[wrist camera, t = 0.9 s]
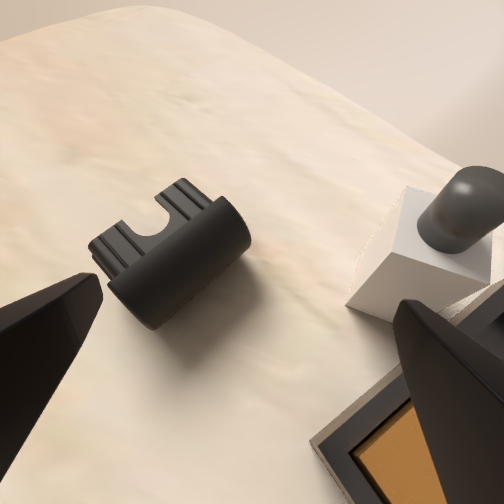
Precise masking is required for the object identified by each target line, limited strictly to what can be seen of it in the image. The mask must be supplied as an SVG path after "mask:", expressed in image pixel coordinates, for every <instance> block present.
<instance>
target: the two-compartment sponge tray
mask: <svg viewBox="0 0 504 504" xmlns="http://www.w3.org/2000/svg"><path fill="white" fill-rule="evenodd" d="M449 322H450V323H451V324H453V325H454V326H455V327H457V328H458V329H460V330H461V331H462V332H464V333H465V334H467V335H468V336H470V337H471V338H472V339H474V340H475V341H477V342H478V343H479V344H481V345H482V346H484V347H485V348H486V349H488V350H489V351H491V352H492V353H494V354H495V355H496V356H498V357H499V358H501V359H502V360H503V361H504V279H503V280H501V281H499V282H497V283H495V284H493V285H491V286H490V287H489V288H488V289H487V290H485V291H484V292H483V293H482V294H481V295H479V296H478V297H477V298H476V299H475V300H474V301H472V302H471V303H470V304H469V305H468V306H467V307H465V308H464V309H463V310H462V311H461V312H460V313H458V314H457V315H456V316H455V317H454V318H453V319H451V320H450V321H449ZM309 442H310V443H311V445H312V446H313V448H314V449H315V451H316V452H317V454H318V455H319V457H320V459H321V460H322V462H323V463H324V465H325V466H326V468H327V469H328V471H329V472H330V474H331V475H332V477H333V479H334V480H335V482H336V483H337V485H338V486H339V488H340V489H341V491H342V492H343V494H344V495H345V497H346V499H347V500H348V502H349V503H350V504H447V502H446V499H445V496H444V493H443V491H442V488H441V485H440V482H439V479H438V476H437V473H436V470H435V467H434V464H433V461H432V458H431V456H430V453H429V450H428V447H427V444H426V441H425V438H424V435H423V432H422V429H421V426H420V423H419V421H418V418H417V415H416V412H415V409H414V406H413V403H412V400H411V397H410V394H409V391H408V388H407V386H406V382H405V379H404V376H403V372H402V368H401V363H400V364H399V365H397V366H396V367H395V368H394V369H393V370H392V371H390V372H389V373H388V374H387V375H386V376H385V377H383V378H382V379H381V380H380V381H379V382H377V383H376V384H375V385H374V386H373V387H372V388H370V389H369V390H368V391H367V392H366V393H365V394H363V395H362V396H361V397H360V398H359V399H358V400H356V401H355V402H354V403H353V404H352V405H351V406H349V407H348V408H347V409H346V410H345V411H343V412H342V413H341V414H340V415H339V416H338V417H336V418H335V419H334V420H333V421H332V422H331V423H329V424H328V425H327V426H326V427H325V428H324V429H322V430H321V431H320V432H319V433H318V434H317V435H315V436H314V437H313V438H312V439H311V440H309Z"/></svg>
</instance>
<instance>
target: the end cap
mask: <svg viewBox="0 0 504 504" xmlns="http://www.w3.org/2000/svg"><path fill="white" fill-rule="evenodd" d="M154 198H155V200H156V201H157V202H158V203H159V204H160V205H161V206H162V207H163V208H164V209H165V210H166V211H168V213H169V215H170V219H169V223H168V225H167V226H166V228H165V229H164V230H162V231H161V232H160V233H158V234H156V235H152V236H141V235H138V234H136V233H135V232H133V231H132V230H131V229H130V228H129V226H128V225H127V224H126V223H125V222H124V221H123V220H120V221H119V222H118V223H116V224H115V225H113V226H112V227H110V228H109V229H108V230H106V231H105V232H103V233H102V234H100V235H99V236H98V237H96V238H95V239H93V240H92V241H91V242H90V243H89V245H88V249H89V250H90V252H91V253H92V258H93V260H94V261H95V262H96V263H97V264H98V266H99V267H100V268H101V269H102V270H103V272H104V273H105V274H106V275H107V276H108V278H109V279H110V280H111V281H110V282H109V283H108V284H107V286H108V288H109V289H110V290H111V291H112V292H113V293H114V295H115V296H116V297H117V298H118V299H119V300H120V301H121V302H122V303H123V305H124V306H125V307H126V308H127V309H128V310H129V311H130V312H131V313H132V314H133V315H134V316H135V317H136V318H137V319H138V320H139V321H140V322H141V323H143V324H144V325H145V326H146V327H147V328H149V329H150V330H156V329H158V328H159V327H160V326H161V325H162V324H163V323H164V322H166V321H167V320H168V319H169V318H170V317H171V316H172V315H173V314H175V313H176V312H177V311H178V310H179V309H180V308H181V307H183V306H184V305H185V304H186V303H187V302H188V301H189V300H190V299H192V298H193V297H194V296H195V295H196V294H197V293H198V292H200V291H201V290H202V289H203V288H204V287H205V286H206V285H207V284H209V283H210V282H211V281H212V280H213V279H214V278H215V277H217V276H218V275H219V274H220V273H221V272H222V271H223V270H224V269H226V268H227V267H228V266H229V265H230V264H231V263H232V262H234V261H235V260H236V259H237V258H238V257H239V256H240V255H241V254H243V253H244V252H245V251H246V250H247V249H248V248H249V247H250V245H251V235H250V232H249V230H248V227H247V225H246V223H245V222H244V220H243V218H242V217H241V215H240V214H239V213H238V211H237V210H236V209H235V208H234V206H233V205H232V204H231V203H230V202H229V201H228V200H227V199H226V198H225V197H223V196H221V197H219V198H218V199H217V200H215V201H214V202H213V201H212V200H210V199H209V198H208V197H207V196H206V195H204V194H203V193H202V192H201V191H200V190H199V189H197V188H196V187H195V186H194V185H193V184H191V183H190V182H189V181H188V180H187V179H185V178H181V179H179V180H178V181H176V182H175V183H173V184H172V185H170V186H169V187H168V188H166V189H165V190H163V191H162V192H160V193H159V194H158V195H156V196H155V197H154Z"/></svg>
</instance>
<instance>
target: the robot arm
mask: <svg viewBox="0 0 504 504" xmlns="http://www.w3.org/2000/svg"><path fill="white" fill-rule="evenodd" d="M102 301H103V293H102V289H101V286H100V282H99V279H98V276H97V275H96V274H94V273H79V274H77V275H74V276H72V277H70V278H68V279H65V280H63V281H61V282H58V283H56V284H54V285H52V286H49V287H47V288H45V289H43V290H40V291H38V292H36V293H33V294H31V295H29V296H27V297H24V298H22V299H20V300H18V301H15V302H13V303H11V304H8V305H6V306H4V307H2V308H0V482H1V481H2V479H3V477H4V476H5V474H6V472H7V471H8V469H9V467H10V466H11V464H12V462H13V461H14V459H15V457H16V456H17V454H18V452H19V451H20V449H21V447H22V446H23V444H24V442H25V441H26V439H27V437H28V436H29V434H30V432H31V431H32V429H33V427H34V426H35V424H36V422H37V421H38V419H39V417H40V415H41V414H42V412H43V410H44V409H45V407H46V405H47V404H48V402H49V400H50V399H51V397H52V395H53V394H54V392H55V390H56V389H57V387H58V385H59V384H60V382H61V380H62V379H63V377H64V375H65V374H66V372H67V370H68V369H69V367H70V365H71V364H72V362H73V360H74V359H75V357H76V355H77V354H78V352H79V350H80V348H81V346H82V344H83V342H84V341H85V339H86V336H87V334H88V332H89V330H90V328H91V326H92V323H93V321H94V319H95V317H96V315H97V313H98V310H99V308H100V306H101V304H102ZM392 326H393V331H394V336H395V341H396V345H397V350H398V354H399V359H400V363H401V368H402V372H403V376H404V379H405V382H406V386H407V388H408V391H409V394H410V397H411V400H412V403H413V406H414V409H415V412H416V415H417V418H418V421H419V423H420V426H421V429H422V432H423V435H424V438H425V441H426V444H427V447H428V450H429V453H430V456H431V458H432V461H433V464H434V467H435V470H436V473H437V476H438V479H439V482H440V485H441V488H442V491H443V493H444V496H445V499H446V502H447V504H504V361H503V360H502V359H501V358H499V357H498V356H496V355H495V354H494V353H492V352H491V351H489V350H488V349H486V348H485V347H484V346H482V345H481V344H479V343H478V342H477V341H475V340H474V339H472V338H471V337H470V336H468V335H467V334H465V333H464V332H462V331H461V330H460V329H458V328H457V327H455V326H454V325H453V324H451V323H450V322H448V321H447V320H445V319H444V318H443V317H441V316H440V315H438V314H437V313H436V312H434V311H433V310H431V309H430V308H429V307H427V306H426V305H424V304H423V303H421V302H420V301H418V300H413V299H403V300H401V301H400V303H399V306H398V308H397V311H396V313H395V316H394V318H393V323H392Z"/></svg>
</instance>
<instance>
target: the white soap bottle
mask: <svg viewBox="0 0 504 504" xmlns="http://www.w3.org/2000/svg"><path fill="white" fill-rule="evenodd" d="M503 222H504V174H503V173H501V172H499V171H497V170H494V169H492V168H488V167H483V166H470V167H466V168H463V169H461V170H460V171H458V172H457V173H456V174H455V176H454V177H453V178H452V179H451V180H450V181H449V183H448V184H447V185H446V186H445V187H444V188H443V190H442V191H441V192H440V193H439V194H438V195H436V194H433V193H429V192H426V191H422V190H419V189H415V188H412V187H409V186H406V187H405V189H404V190H403V192H402V193H401V195H400V196H399V198H398V199H397V200H396V202H395V203H394V205H393V206H392V208H391V209H390V211H389V212H388V214H387V215H386V217H385V218H384V220H383V221H382V223H381V224H380V225H379V227H378V228H377V230H376V231H375V233H374V234H373V236H372V237H371V239H370V240H369V242H368V243H367V245H366V246H365V248H364V249H363V251H362V252H361V253H360V255H359V257H358V261H357V264H356V268H355V271H354V275H353V278H352V282H351V285H350V289H349V292H348V296H347V299H346V303H345V305H346V306H348V307H351V308H354V309H356V310H359V311H361V312H364V313H367V314H369V315H372V316H375V317H377V318H380V319H383V320H385V321H388V322H390V323H393V318H394V316H395V313H396V311H397V308H398V306H399V303H400V301H401V300H403V299H413V300H418V301H420V302H421V303H423V304H424V305H426V306H427V307H429V308H430V309H431V310H433V311H434V312H436V313H437V312H439V311H441V310H442V309H444V308H446V307H448V306H450V305H452V304H454V303H456V302H458V301H460V300H462V299H463V298H465V297H467V296H469V295H471V294H473V293H475V292H477V291H479V290H481V289H483V288H484V287H486V286H488V285H490V275H491V254H492V233H493V230H494V229H495V228H497V227H498V226H499V225H501V224H502V223H503Z"/></svg>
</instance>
